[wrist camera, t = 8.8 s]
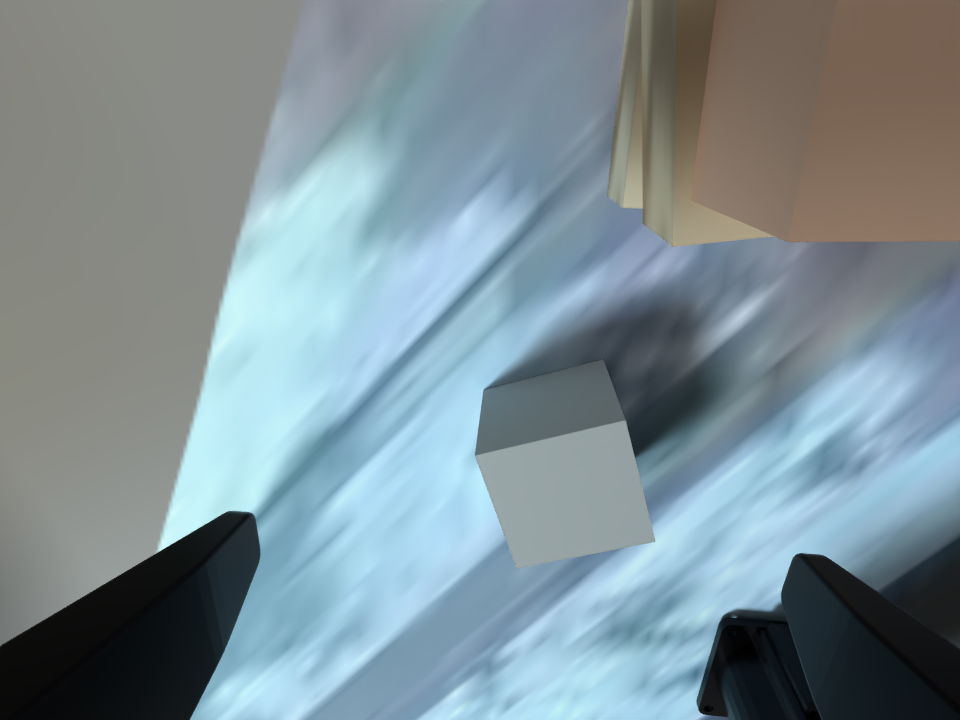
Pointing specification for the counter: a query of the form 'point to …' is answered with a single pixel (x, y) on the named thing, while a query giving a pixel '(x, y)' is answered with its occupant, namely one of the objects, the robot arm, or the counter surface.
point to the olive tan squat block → (628, 118)
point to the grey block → (561, 466)
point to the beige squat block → (677, 123)
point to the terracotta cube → (833, 119)
